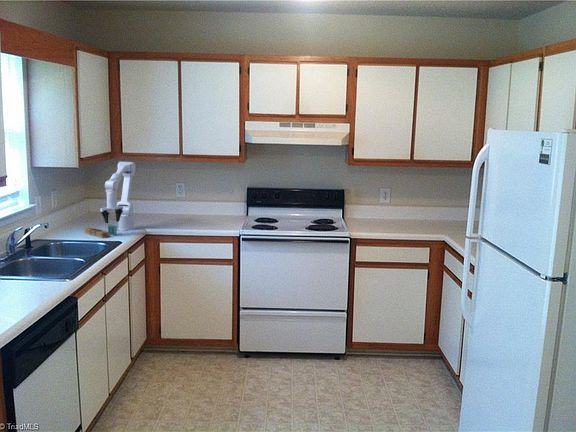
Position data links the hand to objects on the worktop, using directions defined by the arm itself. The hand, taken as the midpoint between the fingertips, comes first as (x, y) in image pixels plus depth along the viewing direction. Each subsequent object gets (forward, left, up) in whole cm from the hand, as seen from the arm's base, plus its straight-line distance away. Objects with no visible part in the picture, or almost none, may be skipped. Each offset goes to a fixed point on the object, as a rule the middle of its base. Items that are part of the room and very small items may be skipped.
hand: (112, 222), depth 319 cm
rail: (+7, -6, -8) cm, 12 cm away
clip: (0, 0, -8) cm, 8 cm away
